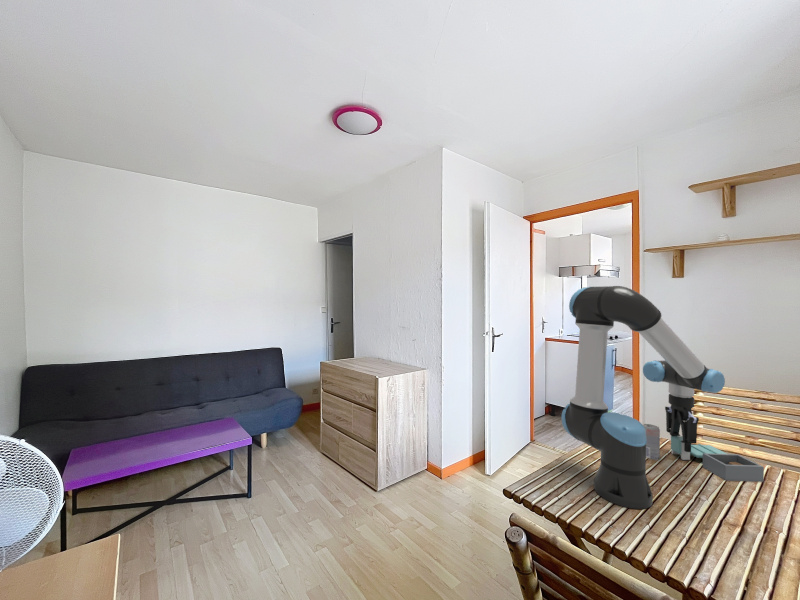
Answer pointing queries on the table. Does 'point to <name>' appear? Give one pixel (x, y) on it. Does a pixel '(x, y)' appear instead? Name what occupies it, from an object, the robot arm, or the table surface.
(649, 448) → the energy drink
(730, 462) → the walnut block
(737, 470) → the tub
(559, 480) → the table surface
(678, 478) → the table surface
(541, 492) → the table surface
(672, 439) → the lid
